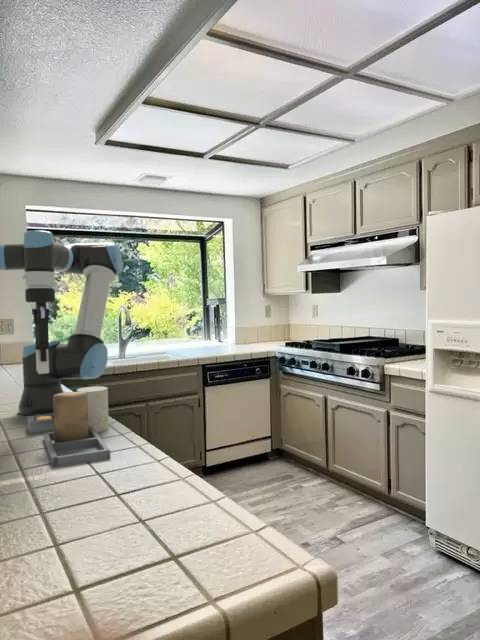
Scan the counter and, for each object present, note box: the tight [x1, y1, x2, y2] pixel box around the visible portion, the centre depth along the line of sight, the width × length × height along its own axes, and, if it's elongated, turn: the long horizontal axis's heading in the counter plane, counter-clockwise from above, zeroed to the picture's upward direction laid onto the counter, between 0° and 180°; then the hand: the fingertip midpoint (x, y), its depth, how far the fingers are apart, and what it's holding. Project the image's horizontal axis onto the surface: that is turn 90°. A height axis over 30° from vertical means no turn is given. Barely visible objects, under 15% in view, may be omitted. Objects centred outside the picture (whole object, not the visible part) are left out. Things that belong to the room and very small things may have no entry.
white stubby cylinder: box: [76, 386, 110, 433], centre depth 131 cm, size 8×8×12 cm
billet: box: [53, 391, 90, 443], centre depth 118 cm, size 8×8×12 cm
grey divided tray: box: [43, 427, 111, 468], centre depth 113 cm, size 23×12×3 cm, turn 27°
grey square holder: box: [27, 413, 54, 435], centre depth 132 cm, size 8×8×4 cm
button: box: [36, 416, 52, 421], centre depth 132 cm, size 4×4×3 cm
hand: (42, 371), depth 131 cm, fingers open, 5 cm apart
